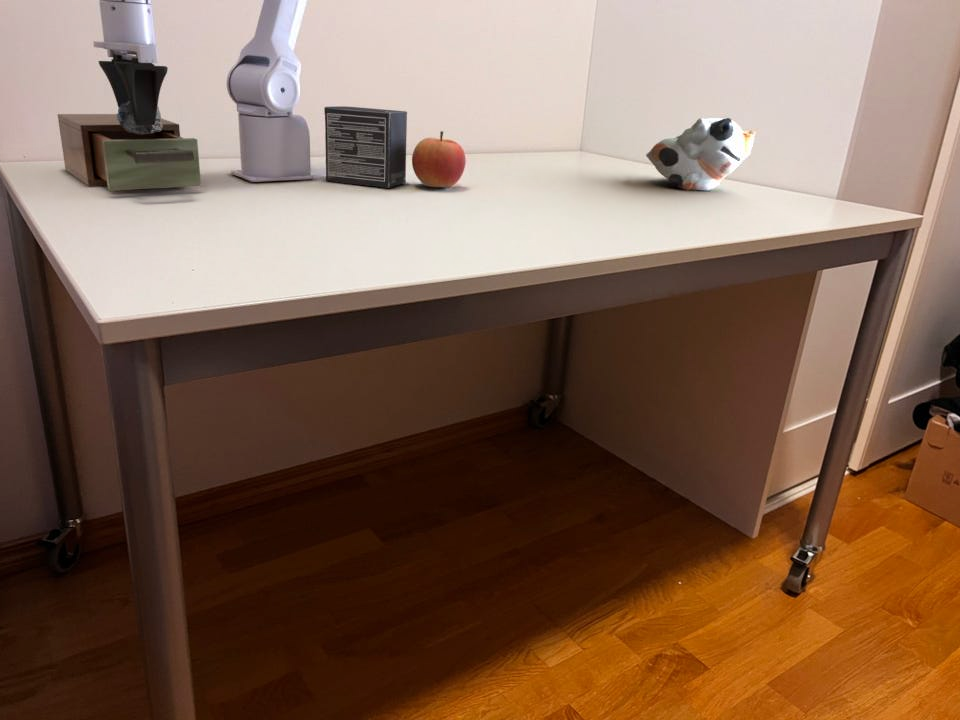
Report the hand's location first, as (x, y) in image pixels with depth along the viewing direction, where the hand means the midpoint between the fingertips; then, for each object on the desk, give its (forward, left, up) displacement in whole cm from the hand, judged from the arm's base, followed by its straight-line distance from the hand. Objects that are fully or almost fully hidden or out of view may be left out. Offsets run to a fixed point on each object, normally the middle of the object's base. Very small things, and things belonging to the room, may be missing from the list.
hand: (138, 122), depth 96 cm
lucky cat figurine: (-82, +25, -8) cm, 86 cm away
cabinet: (0, -10, -8) cm, 13 cm away
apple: (-38, +12, -8) cm, 41 cm away
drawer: (0, +2, -7) cm, 7 cm away
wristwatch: (0, 0, -2) cm, 2 cm away
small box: (-30, +5, -8) cm, 32 cm away
